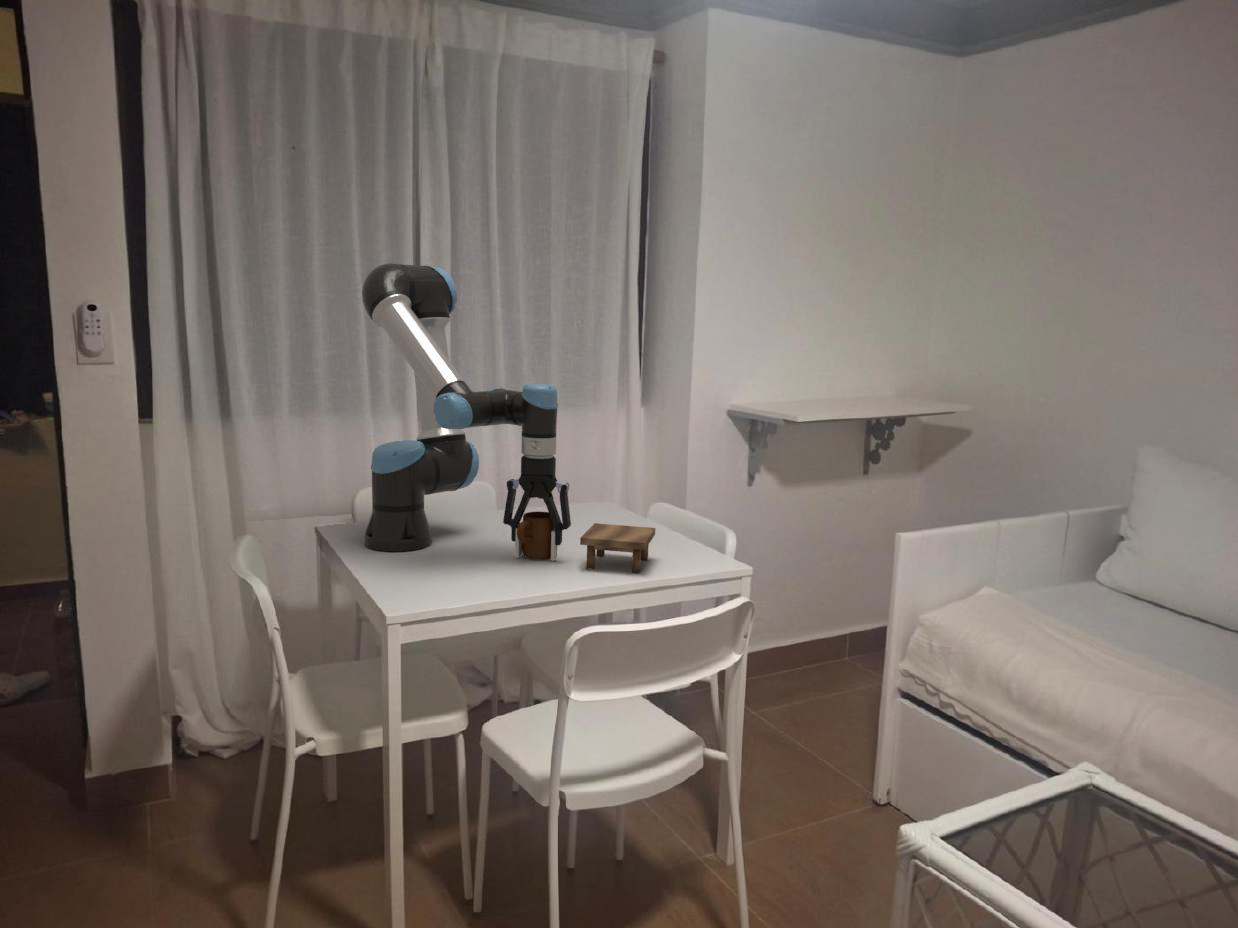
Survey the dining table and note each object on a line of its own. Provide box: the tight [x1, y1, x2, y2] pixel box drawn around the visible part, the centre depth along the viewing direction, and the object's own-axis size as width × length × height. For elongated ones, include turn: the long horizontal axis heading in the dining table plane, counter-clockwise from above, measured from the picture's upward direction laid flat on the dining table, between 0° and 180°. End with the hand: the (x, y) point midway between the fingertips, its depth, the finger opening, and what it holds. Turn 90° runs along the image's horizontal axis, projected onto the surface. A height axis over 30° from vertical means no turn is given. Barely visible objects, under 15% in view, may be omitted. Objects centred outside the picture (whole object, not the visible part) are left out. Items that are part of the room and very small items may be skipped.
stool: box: [579, 522, 656, 574], centre depth 198 cm, size 14×14×7 cm
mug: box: [517, 510, 555, 561], centre depth 199 cm, size 12×8×9 cm, turn 152°
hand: (536, 557), depth 200 cm, fingers closed on mug, 7 cm apart
